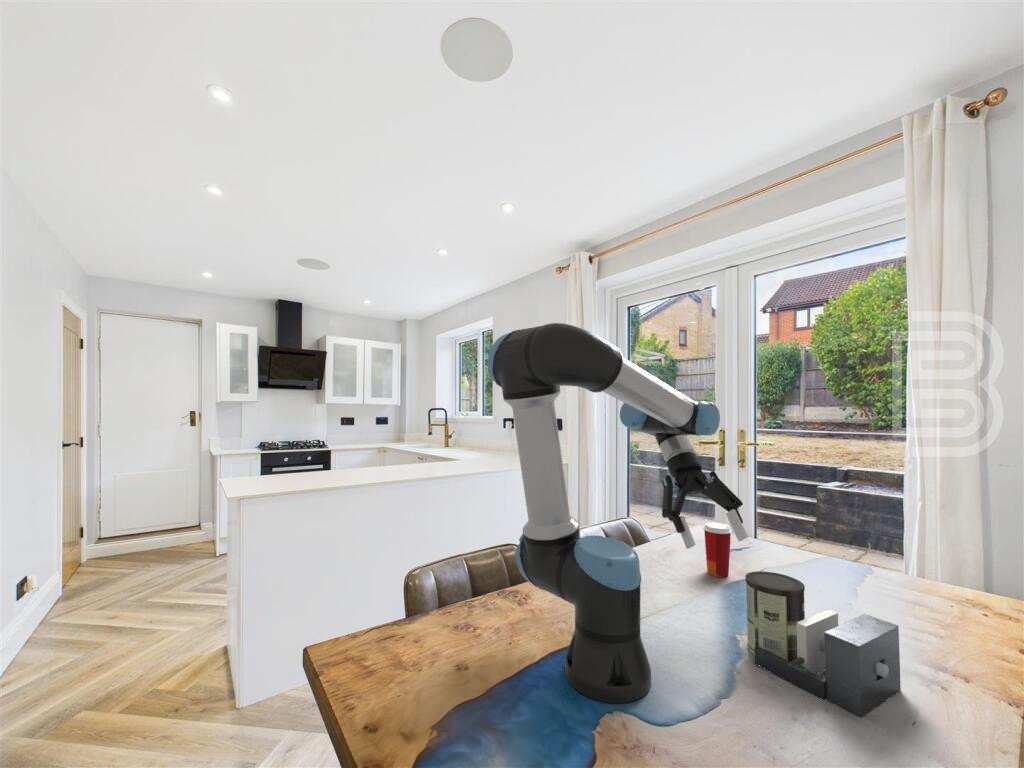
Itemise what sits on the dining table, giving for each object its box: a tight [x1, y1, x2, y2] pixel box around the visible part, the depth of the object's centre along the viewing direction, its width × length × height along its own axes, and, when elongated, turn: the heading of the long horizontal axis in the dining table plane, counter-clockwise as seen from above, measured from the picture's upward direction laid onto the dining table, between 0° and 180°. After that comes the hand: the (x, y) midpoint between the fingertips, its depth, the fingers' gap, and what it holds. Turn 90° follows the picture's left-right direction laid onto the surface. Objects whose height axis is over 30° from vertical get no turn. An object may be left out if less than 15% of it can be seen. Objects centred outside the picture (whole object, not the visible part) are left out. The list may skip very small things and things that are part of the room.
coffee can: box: [744, 570, 806, 662], centre depth 89 cm, size 10×10×14 cm
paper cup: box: [702, 522, 732, 578], centre depth 130 cm, size 8×8×14 cm
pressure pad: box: [790, 609, 889, 678], centre depth 77 cm, size 11×14×9 cm
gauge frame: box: [753, 613, 902, 719], centre depth 81 cm, size 17×15×11 cm
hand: (717, 543), depth 99 cm, fingers open, 13 cm apart
